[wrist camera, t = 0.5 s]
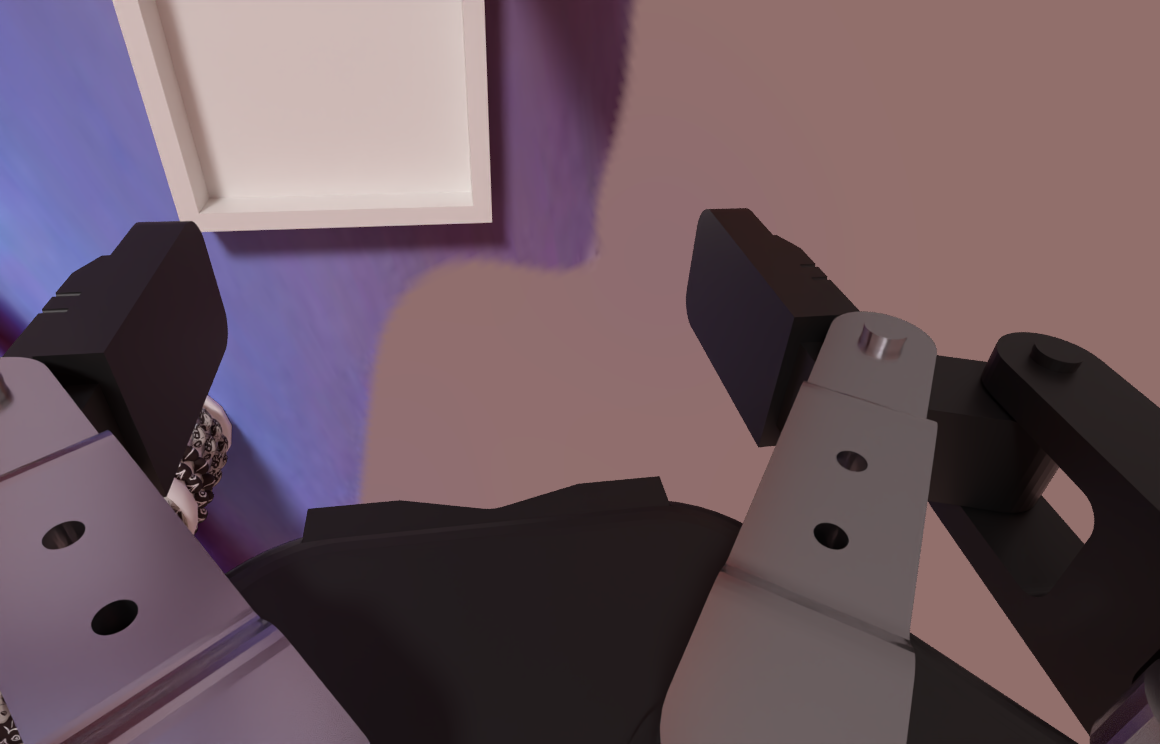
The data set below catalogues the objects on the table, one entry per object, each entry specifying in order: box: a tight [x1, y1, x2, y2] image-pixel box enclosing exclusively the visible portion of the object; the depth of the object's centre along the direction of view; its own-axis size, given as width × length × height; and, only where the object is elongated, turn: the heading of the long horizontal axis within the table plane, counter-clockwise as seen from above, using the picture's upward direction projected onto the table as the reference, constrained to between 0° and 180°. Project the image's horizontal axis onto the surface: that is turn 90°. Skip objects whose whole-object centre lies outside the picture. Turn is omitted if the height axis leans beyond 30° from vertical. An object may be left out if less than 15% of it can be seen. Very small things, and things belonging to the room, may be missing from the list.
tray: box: [112, 0, 492, 232], centre depth 34 cm, size 16×16×3 cm
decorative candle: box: [0, 395, 232, 744], centre depth 36 cm, size 9×9×25 cm
